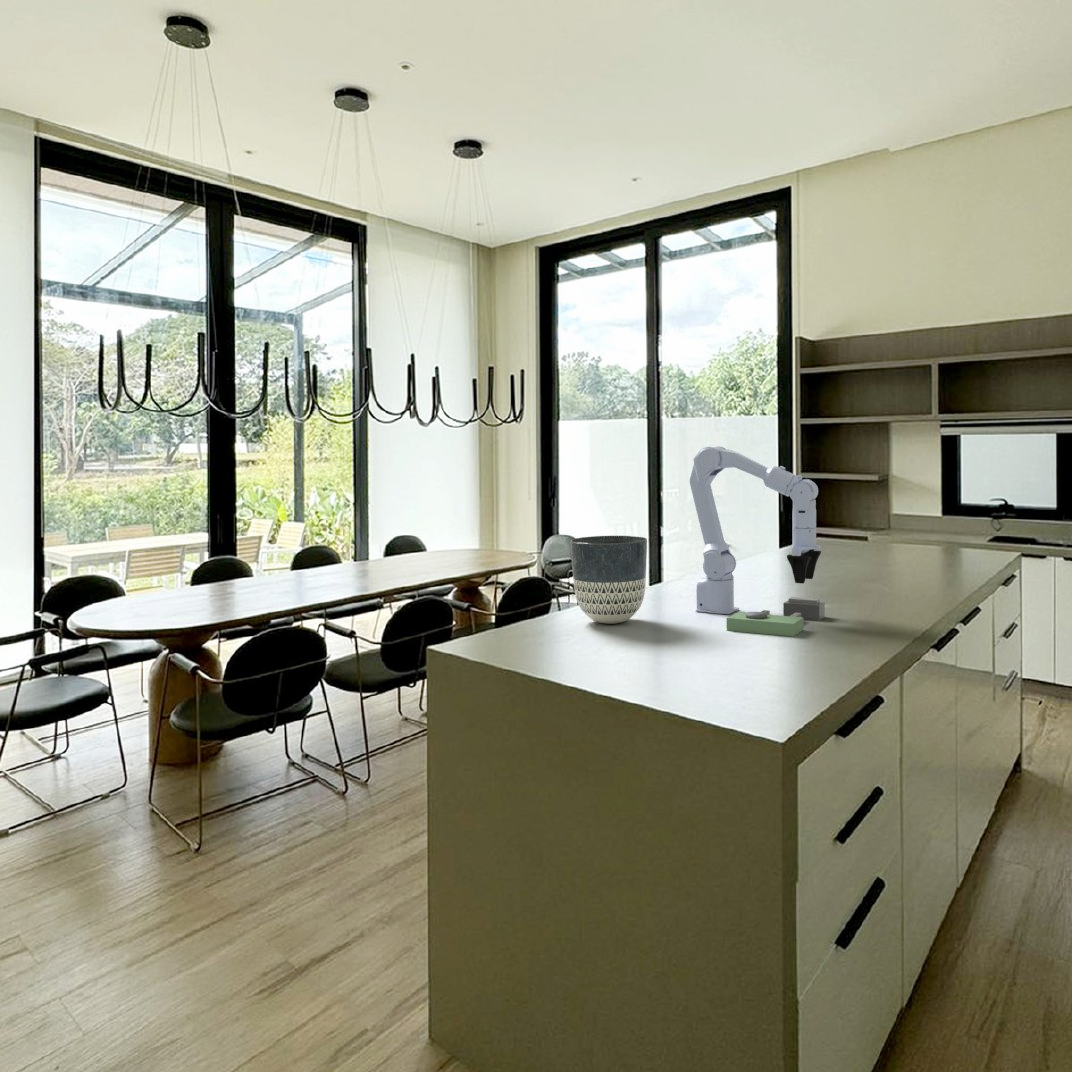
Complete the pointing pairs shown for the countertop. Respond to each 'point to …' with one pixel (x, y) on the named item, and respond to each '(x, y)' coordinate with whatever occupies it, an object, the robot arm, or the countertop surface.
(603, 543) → the planter
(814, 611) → the stepped grey block
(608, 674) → the countertop surface
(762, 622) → the deck
